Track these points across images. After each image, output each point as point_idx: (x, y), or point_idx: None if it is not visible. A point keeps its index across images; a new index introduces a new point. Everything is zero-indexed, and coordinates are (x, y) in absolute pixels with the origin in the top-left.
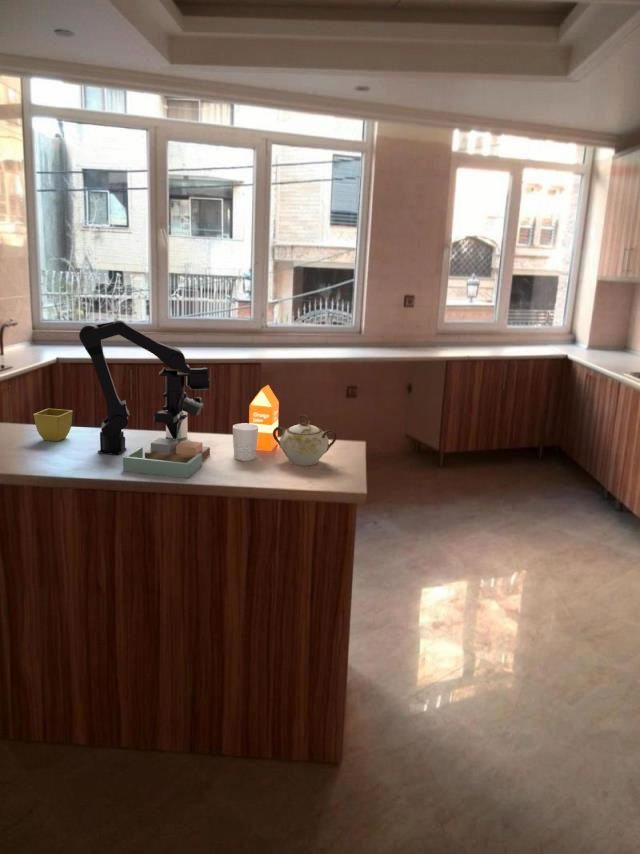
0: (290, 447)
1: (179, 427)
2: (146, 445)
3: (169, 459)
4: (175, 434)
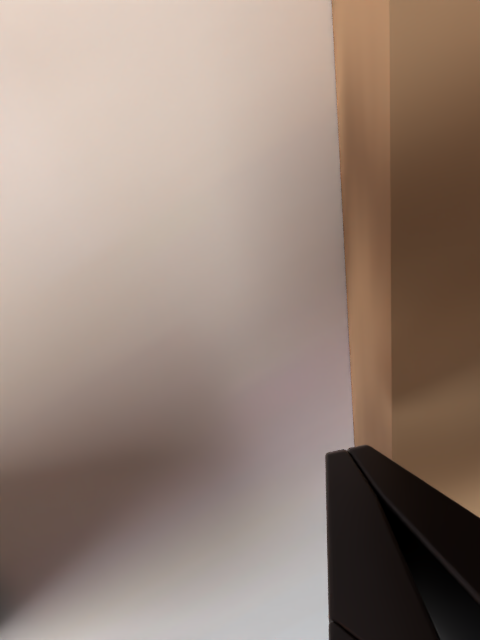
0: None
1: (387, 627)
2: (291, 613)
3: None
4: (429, 500)
